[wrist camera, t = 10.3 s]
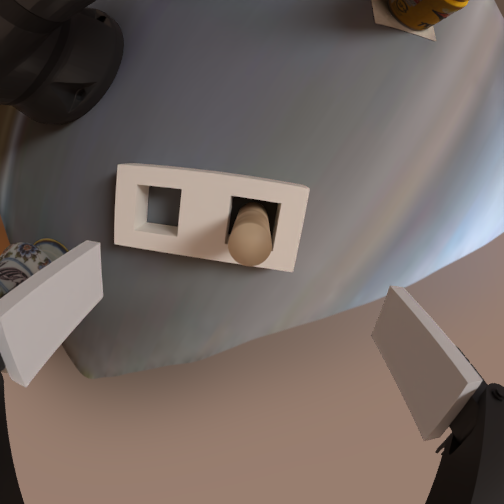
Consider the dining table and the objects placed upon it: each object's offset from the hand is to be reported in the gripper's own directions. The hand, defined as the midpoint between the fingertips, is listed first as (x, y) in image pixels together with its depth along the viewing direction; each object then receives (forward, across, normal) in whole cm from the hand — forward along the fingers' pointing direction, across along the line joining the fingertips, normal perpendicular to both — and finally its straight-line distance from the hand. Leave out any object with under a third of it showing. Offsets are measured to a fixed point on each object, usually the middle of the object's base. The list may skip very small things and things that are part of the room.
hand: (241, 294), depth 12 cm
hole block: (+18, -4, -1) cm, 19 cm away
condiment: (+19, +14, +28) cm, 37 cm away
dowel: (+18, 0, -1) cm, 18 cm away
